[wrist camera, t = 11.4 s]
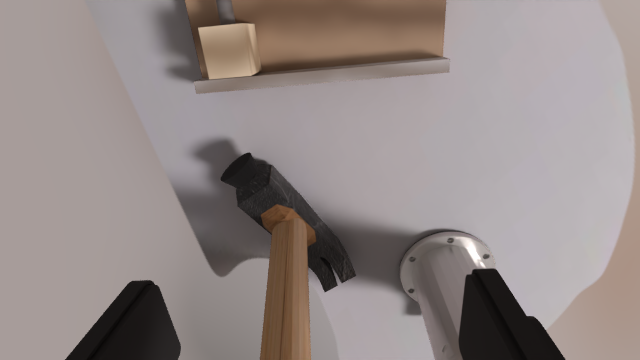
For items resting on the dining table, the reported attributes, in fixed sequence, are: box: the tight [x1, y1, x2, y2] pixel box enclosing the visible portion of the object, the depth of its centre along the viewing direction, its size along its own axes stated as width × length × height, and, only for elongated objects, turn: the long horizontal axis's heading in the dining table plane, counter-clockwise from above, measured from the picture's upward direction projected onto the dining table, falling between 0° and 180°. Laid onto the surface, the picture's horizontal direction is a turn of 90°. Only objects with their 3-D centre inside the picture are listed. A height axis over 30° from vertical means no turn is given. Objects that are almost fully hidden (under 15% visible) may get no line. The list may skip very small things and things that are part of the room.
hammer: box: [221, 153, 356, 360], centre depth 32 cm, size 20×5×30 cm, turn 37°
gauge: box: [198, 0, 262, 79], centre depth 31 cm, size 9×4×4 cm, turn 5°
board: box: [185, 0, 450, 94], centre depth 32 cm, size 12×25×4 cm, turn 95°
